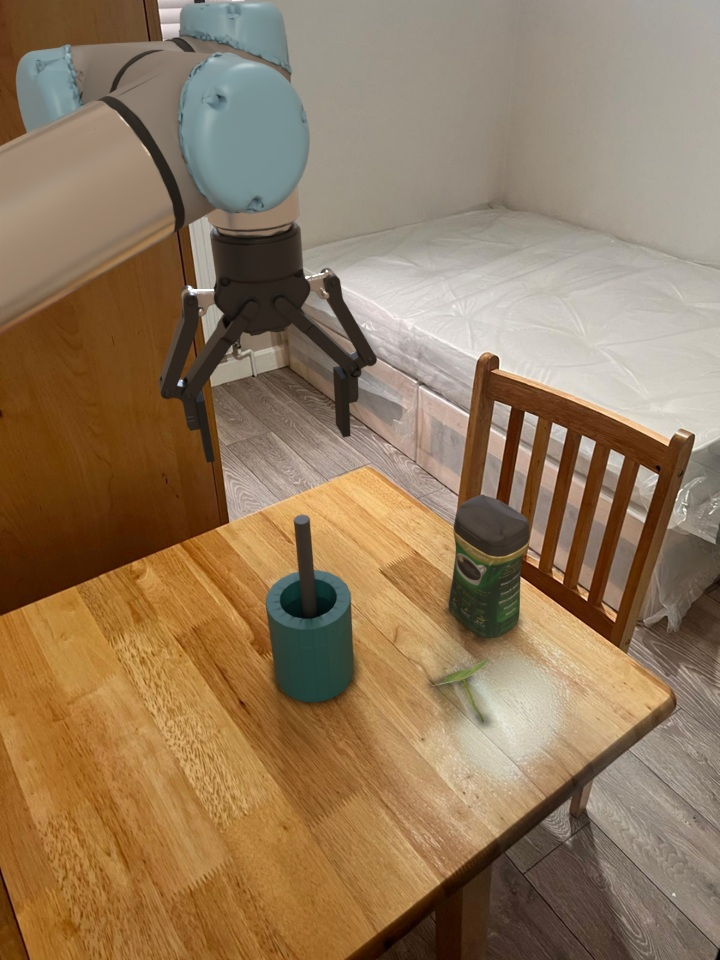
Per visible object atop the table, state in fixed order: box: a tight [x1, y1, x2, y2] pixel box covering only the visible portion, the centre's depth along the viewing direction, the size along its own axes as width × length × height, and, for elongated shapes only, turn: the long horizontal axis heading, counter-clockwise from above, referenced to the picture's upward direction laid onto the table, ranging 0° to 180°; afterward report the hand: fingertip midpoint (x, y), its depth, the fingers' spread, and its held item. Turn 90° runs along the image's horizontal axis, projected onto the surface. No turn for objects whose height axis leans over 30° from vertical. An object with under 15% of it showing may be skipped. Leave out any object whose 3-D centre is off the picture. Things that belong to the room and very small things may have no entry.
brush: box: [293, 514, 318, 619], centre depth 88 cm, size 4×4×24 cm
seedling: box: [432, 658, 489, 723], centre depth 90 cm, size 7×8×6 cm
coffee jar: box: [448, 493, 530, 639], centre depth 97 cm, size 10×8×19 cm
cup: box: [265, 569, 355, 703], centre depth 92 cm, size 10×10×13 cm
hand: (277, 442), depth 72 cm, fingers open, 13 cm apart
